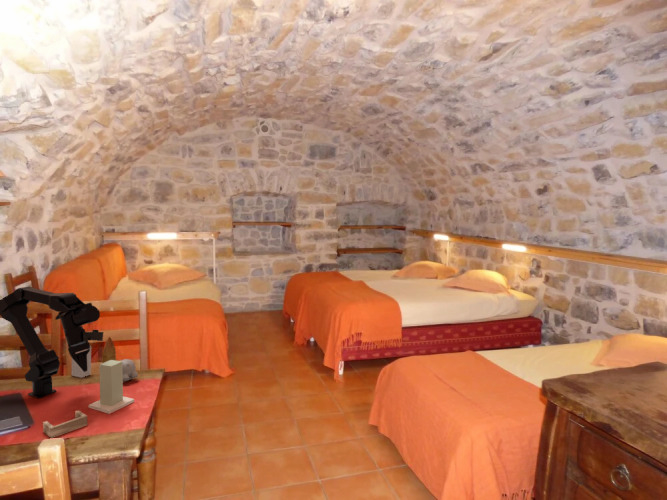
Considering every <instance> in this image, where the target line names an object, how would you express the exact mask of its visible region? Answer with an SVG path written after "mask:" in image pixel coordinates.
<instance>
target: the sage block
mask: <svg viewBox="0 0 667 500" xmlns="http://www.w3.org/2000/svg"><path fill="white" fill-rule="evenodd" d="M98 371H99V372H98V373H99V400H100V404H104V405H110V406H113V405H115V404H116V403H118V402H120V401H122V400H123V396H124V390H123V389H124V387H123V386H124V384H123V383H124V382H123V369H122V361H121V360H116V361H115V360H109V361H107V362H104V363H102V362H101V363H99V367H98Z"/></svg>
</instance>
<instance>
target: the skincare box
mask: <svg viewBox="0 0 667 500" xmlns="http://www.w3.org/2000/svg"><path fill="white" fill-rule="evenodd" d="M90 347H91V348H89V349H90V351H89V352H88V354H87V371H86V372H84V371H83V370H82V369H81V368H80V367H79V365H78V364H77V363H76V362H75V361H74V360H73V358H72V357H71V376H73V377H76V378H79V379H80V378H85V376H86V377H88V376H90V375H92V346H91V345H90Z"/></svg>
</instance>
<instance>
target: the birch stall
mask: <svg viewBox="0 0 667 500" xmlns="http://www.w3.org/2000/svg"><path fill="white" fill-rule="evenodd" d="M74 413H75V414H74V417H75V418H73V419H70V420H68V421H65V422H61V423H60V424H57V425H53V424H51V423H50V422H49V421H48V420H46V421H42V432H43V433H44V434H45V435H46V436H48V437H50V439H53V438H56V437H58V436H61V435H64V434H67V433H70V432H72V431H75V430H78V429H81V428H84V427H85V426H88V415H87V414H85V413H83V412H82V411H81V410H76V411H74Z"/></svg>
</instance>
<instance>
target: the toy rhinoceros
mask: <svg viewBox="0 0 667 500" xmlns="http://www.w3.org/2000/svg"><path fill="white" fill-rule="evenodd" d="M120 361H122V369H123V383H124V382H127V381H130V380H133V379H135V378H137V377H138V376H139V374H138V372H137V371H136V367H137V366H136V364H135V362H134V361H133V360H132V359H129V358H125V359H121V360H120Z"/></svg>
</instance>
